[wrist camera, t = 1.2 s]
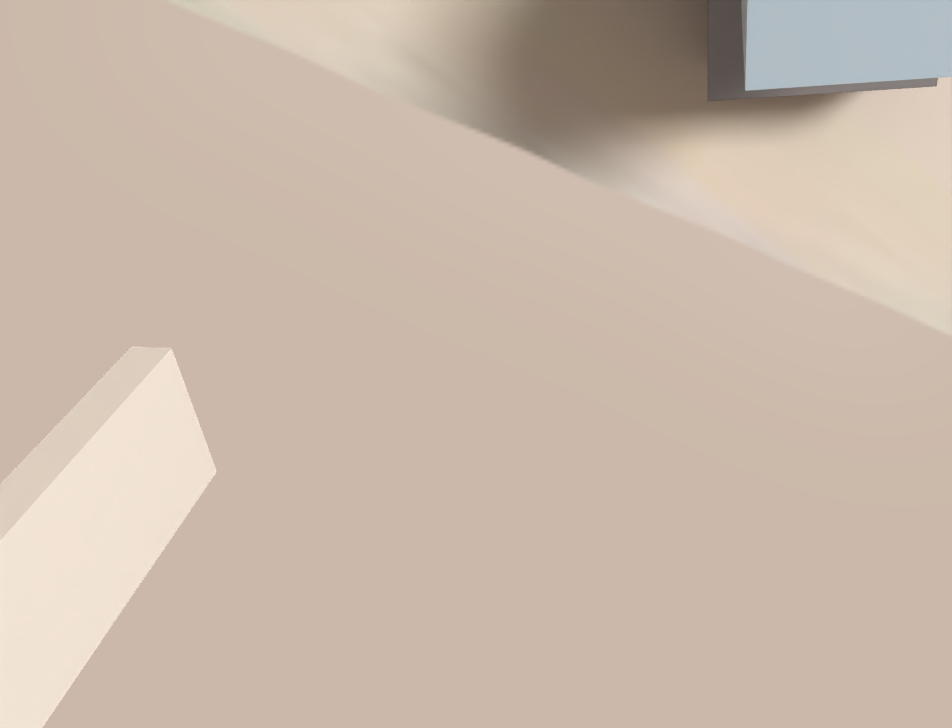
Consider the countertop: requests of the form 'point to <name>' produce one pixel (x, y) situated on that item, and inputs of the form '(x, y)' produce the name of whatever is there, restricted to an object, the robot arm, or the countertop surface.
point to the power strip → (729, 62)
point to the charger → (844, 41)
